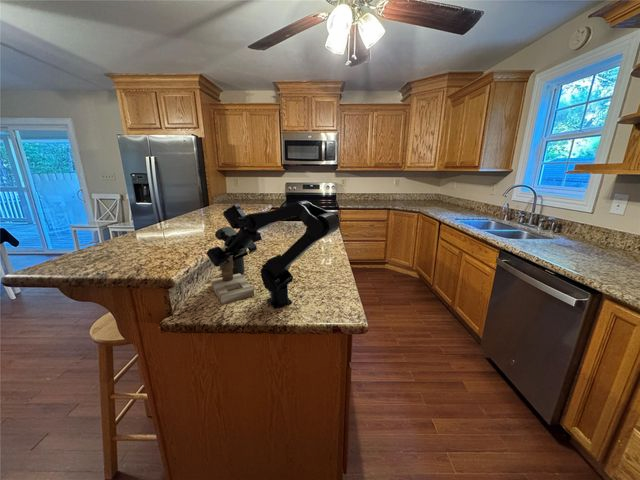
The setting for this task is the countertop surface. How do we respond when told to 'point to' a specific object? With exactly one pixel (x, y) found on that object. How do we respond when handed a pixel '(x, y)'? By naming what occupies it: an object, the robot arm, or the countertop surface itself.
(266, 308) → the countertop surface
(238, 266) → the supplement bottle
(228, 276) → the walnut peg
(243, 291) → the board
